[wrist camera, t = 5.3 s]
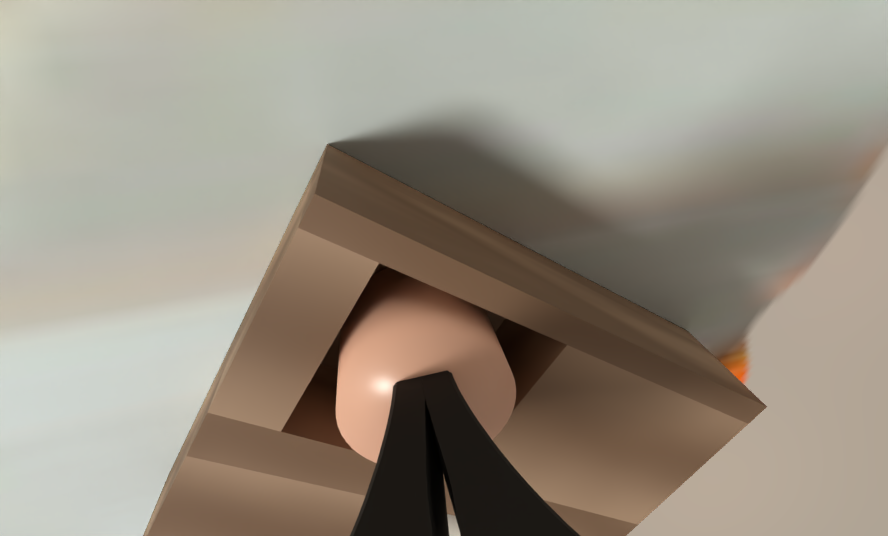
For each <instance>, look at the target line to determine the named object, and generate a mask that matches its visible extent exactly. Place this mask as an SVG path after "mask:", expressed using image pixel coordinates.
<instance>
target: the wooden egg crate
mask: <svg viewBox="0 0 888 536" xmlns="http://www.w3.org/2000/svg"><path fill="white" fill-rule="evenodd" d="M387 268H392V269H394V270H396V271H399V272H401V273H403V274H405V275H408V276H410V277H412V278H415V279H417V280H419V281H421V282H424V283H426V284H428V285H431V286H433V287H435V288H438V289H440V290H442V291H444V292H447V293H449V294H451V295H454V296H456V297H458V298H460V299H463V300H465V301H467V302H470V303H472V304H474V305H477V306H479V307H481V308H483V309H485V311H486V313H487V315H488V318H489V320H490V322H491V325H492V327H493V329H494V332H495V334H496V336H497V339H498V341H499V343H500V346H501V348H502V350H503V353H504V355H505V357H506V360H507V362H508V364H509V367H510V369H511V371H512V374H513V377H514V380H515V385H516V400H515V405H514V409H513V411H512V414H511V416H510V418H509V420H508V422H507V423H506V425H505V426H504V428H503V429H502V430H501V432H500V433H499V434H498V435H497V436H496V437H495V438H494V439H493V442H494V443H495V444H496V446H497V447H498V448H499V449H500V451H501V452H502V453H503V454H504V456H505V457H506V458H507V459H508V461H509V462H510V463H511V464H512V465H513V467H514V468H515V469H516V470H517V471H518V472H519V474H520V475H521V476H522V477H523V478H524V479H525V480H526V482H527V483H528V484H529V485H530V486H531V487H532V488H533V489H534V490H535V491H536V492H537V493H538V495H539V496H540V497H541V498H542V499H543V500H544V501H545V502H546V503H547V504H548V505H549V506H550V507H551V508H552V509H553V510H554V511H555V512H556V513H557V514H558V515H559V516H560V517H561V518H562V519H563V520H564V521H565V522H566V523H567V524H568V525H569V526H570V527H572V528H573V529H574V530H575V531H576V532H577V533H578V534H579V535H580V536H626V535H627V534H628V533H629V532H630V531H632V530H633V529H634V528H635V527H636V526H637V525H638V524H639V523H640V522H641V521H642V520H644V519H645V518H646V517H647V516H648V515H649V514H650V513H651V512H652V511H653V510H655V509H656V508H657V507H658V506H659V505H660V504H661V503H662V502H663V501H664V500H665V499H667V498H668V497H669V496H670V495H671V494H672V493H673V492H674V491H675V490H676V489H677V488H679V487H680V486H681V485H682V484H683V483H684V482H685V481H686V480H687V479H688V478H690V477H691V476H692V475H693V474H694V473H695V472H696V471H697V470H698V469H699V468H700V467H702V466H703V465H704V464H705V463H706V462H707V461H708V460H709V459H710V458H711V457H712V456H714V454H716V453H717V452H718V451H719V450H720V449H721V448H722V447H723V446H725V444H727V443H728V442H729V441H730V440H731V439H732V438H733V437H734V436H735V435H736V434H738V433H739V432H740V431H741V430H742V429H743V428H744V427H745V426H746V425H747V424H749V423H750V422H751V421H752V420H753V419H754V418H755V417H756V416H757V415H758V414H759V413H761V412H762V411H763V410H764V409H765V408H766V407H767V406H766V405H765V404H764V403H762V402H761V401H760V400H759V399H758V398H757V397H756V396H755V395H754V394H753V393H752V392H751V391H750V390H748V388H747V387H746V386H745V385H744V384H743V383H742V382H741V381H739V380H738V379H737V378H736V377H735V376H734V375H733V374H732V373H731V372H730V371H729V370H728V369H727V368H726V367H725V366H724V365H723V364H722V363H721V362H720V361H719V360H717V359H716V358H715V357H714V356H713V355H712V354H711V353H710V352H709V351H708V350H707V349H706V348H705V347H704V346H703V345H702V344H701V343H700V342H699V341H698V340H697V339H695V338H694V337H693V336H692V335H691V334H690V333H689V332H688V331H687V330H685V329H683V328H681V327H679V326H677V325H675V324H673V323H671V322H669V321H667V320H665V319H663V318H662V317H660V316H658V315H656V314H654V313H652V312H650V311H648V310H646V309H644V308H642V307H640V306H638V305H636V304H635V303H633V302H631V301H629V300H627V299H625V298H623V297H621V296H619V295H617V294H615V293H613V292H611V291H609V290H608V289H606V288H604V287H602V286H600V285H598V284H596V283H594V282H592V281H590V280H588V279H586V278H584V277H583V276H581V275H579V274H577V273H575V272H573V271H571V270H569V269H567V268H565V267H563V266H561V265H559V264H557V263H556V262H554V261H552V260H550V259H548V258H546V257H544V256H542V255H540V254H538V253H536V252H534V251H532V250H530V249H529V248H527V247H525V246H523V245H521V244H519V243H517V242H515V241H513V240H511V239H509V238H507V237H505V236H504V235H502V234H500V233H498V232H496V231H494V230H492V229H490V228H488V227H486V226H484V225H482V224H480V223H478V222H477V221H475V220H473V219H471V218H469V217H467V216H465V215H463V214H461V213H459V212H457V211H455V210H453V209H451V208H450V207H448V206H446V205H444V204H442V203H440V202H438V201H436V200H434V199H432V198H430V197H428V196H426V195H424V194H423V193H421V192H419V191H417V190H415V189H413V188H411V187H409V186H407V185H405V184H403V183H401V182H399V181H398V180H396V179H394V178H392V177H390V176H388V175H386V174H384V173H382V172H380V171H378V170H376V169H374V168H372V167H371V166H369V165H367V164H365V163H363V162H361V161H359V160H357V159H355V158H353V157H351V156H349V155H347V154H345V153H344V152H342V151H340V150H338V149H336V148H334V147H332V146H330V145H328V144H327V146H326V148H325V150H324V152H323V154H322V156H321V158H320V160H319V162H318V165H317V167H316V169H315V171H314V173H313V175H312V177H311V179H310V181H309V183H308V185H307V187H306V190H305V192H304V194H303V196H302V198H301V200H300V202H299V204H298V206H297V208H296V210H295V212H294V215H293V217H292V219H291V221H290V223H289V225H288V227H287V229H286V231H285V233H284V235H283V237H282V240H281V242H280V244H279V246H278V248H277V250H276V252H275V254H274V256H273V258H272V260H271V263H270V265H269V267H268V269H267V271H266V273H265V275H264V277H263V279H262V281H261V283H260V285H259V288H258V290H257V292H256V294H255V296H254V298H253V300H252V302H251V304H250V306H249V308H248V310H247V313H246V315H245V317H244V319H243V321H242V323H241V325H240V327H239V329H238V331H237V333H236V335H235V338H234V340H233V342H232V344H231V346H230V348H229V350H228V352H227V354H226V356H225V358H224V360H223V363H222V365H221V367H220V369H219V371H218V373H217V375H216V377H215V379H214V381H213V383H212V385H211V388H210V390H209V392H208V394H207V396H206V398H205V400H204V402H203V404H202V406H201V408H200V411H199V413H198V415H197V417H196V419H195V421H194V423H193V425H192V427H191V429H190V431H189V433H188V436H187V438H186V440H185V442H184V444H183V446H182V448H181V450H180V452H179V454H178V456H177V458H176V461H175V463H174V465H173V467H172V469H171V471H170V473H169V475H168V478H167V480H166V482H165V485H164V487H163V490H162V492H161V494H160V497H159V499H158V502H157V504H156V506H155V509H154V511H153V513H152V516H151V518H150V521H149V523H148V525H147V528H146V530H145V533H144V535H143V536H350V534H351V532H352V530H353V527H354V525H355V522H356V520H357V517H358V515H359V512H360V510H361V507H362V504H363V502H364V499H365V496H366V493H367V490H368V487H369V484H370V481H371V478H372V475H373V472H374V469H375V466H376V463H375V462H373V461H370V460H368V459H366V458H365V457H363V456H361V455H360V454H358V453H357V452H356V451H355V450H353V449H352V448H351V447H350V446H349V444H348V443H347V442H346V441H345V439H344V438H343V436H342V435H341V433H340V430H339V428H338V425H337V420H336V394H337V378H338V362H339V345H340V329H341V328H342V326H343V324H344V322H345V321H346V319H347V317H348V316H349V314H350V312H351V310H352V309H353V307H354V305H355V304H356V302H357V300H358V298H359V297H360V295H361V293H362V292H363V290H364V288H365V286H366V285H367V283H368V281H369V280H370V278H371V276H373V275H374V274H376V273H378V272H380V271H382V270H384V269H387ZM443 476H444V474H443ZM444 486H445V496H446V507H447V514H449V515H454V516H455V513H454V510H453V506H452V503H451V499H450V496H449V492H448V488H447V485H446V481H445V478H444Z"/></svg>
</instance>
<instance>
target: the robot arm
mask: <svg viewBox="0 0 888 536" xmlns="http://www.w3.org/2000/svg"><path fill="white" fill-rule="evenodd" d="M443 474H444V476H443ZM444 478H445V481H446V485H447V488H448V492H449V496H450V499H451V503H452V506H453V510H454V513H455V517H456V520H457V524H458V527H459V531H460V535H461V536H580V535H579V534H578V533H577V532H576V531H575V530H574V529H573V528H572V527H570V526H569V525H568V524H567V523H566V522H565V521H564V520H563V519H562V518H561V517H560V516H559V515H558V514H557V513H556V512H555V511H554V510H553V509H552V508H551V507H550V506H549V505H548V504H547V503H546V502H545V501H544V500H543V499H542V498H541V497H540V496H539V495H538V493H537V492H536V491H535V490H534V489H533V488H532V487H531V486H530V485H529V484H528V483H527V482H526V480H525V479H524V478H523V477H522V476H521V475H520V474H519V472H518V471H517V470H516V469H515V468H514V467H513V465H512V464H511V463H510V462H509V461H508V459H507V458H506V457H505V456H504V454H503V453H502V452H501V451H500V449H499V448H498V447H497V446H496V444H495V443H494V442H493V440H492V439H491V438H490V436H489V435H488V433H487V432H486V431H485V429H484V428H483V426H482V425H481V424H480V422H479V421H478V420H477V418H476V416H475V415H474V413H473V412H472V410H471V409H470V407H469V406H468V404H467V402H466V401H465V399H464V397H463V395H462V394H461V392H460V390H459V388H458V386H457V384H456V382H455V380H454V377H453V374H452V373H451V372H449V371H447V370H446V371H442V372H438V373H433V374H429V375H425V376H421V377H416V378H412V379H408V380H403V381H399V382H396V383H395V385H394V386H393V392H392V400H391V406H390V412H389V417H388V421H387V426H386V430H385V434H384V438H383V441H382V445H381V449H380V452H379V456H378V460H377V463H376V466H375V469H374V472H373V475H372V478H371V481H370V484H369V487H368V490H367V493H366V496H365V499H364V502H363V504H362V507H361V510H360V512H359V515H358V517H357V520H356V522H355V525H354V527H353V530H352V532H351V534H350V536H449V528H448V517H447V507H446V496H445V486H444Z"/></svg>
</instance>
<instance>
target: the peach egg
mask: <svg viewBox="0 0 888 536" xmlns="http://www.w3.org/2000/svg"><path fill="white" fill-rule="evenodd" d="M446 370H447V371H449V372H451V373H452V374H453V377H454V380H455V382H456V384H457V386H458V388H459V390H460V392H461V394H462V395H463V397H464V399H465V401H466V402H467V404H468V406H469V407H470V409H471V410H472V412H473V413H474V415H475V416H476V418H477V420H478V421H479V422H480V424H481V425H482V426H483V428H484V429H485V431H486V432H487V433H488V435H489V436H490V438H491V439H492V440H493V439H494V438H495V437H496V436H497V435H498V434H499V433H500V432H501V430H502V429H503V428H504V426H505V425H506V423H507V422H508V420H509V418H510V416H511V414H512V411H513V409H514V405H515V400H516V385H515V380H514V377H513V374H512V371H511V369H510V367H509V364H508V362H507V360H506V357H505V355H504V353H503V350H502V348H501V346H500V343H499V341H498V339H497V336H496V334H495V332H494V329H493V327H492V325H491V322H490V320H489V318H488V315H487V313H486V311H485V309H483V308H481V307H479V306H477V305H474V304H472V303H470V302H467V301H465V300H463V299H460V298H458V297H456V296H454V295H451V294H449V293H447V292H444V291H442V290H440V289H438V288H435V287H433V286H431V285H428V284H426V283H424V282H421V281H419V280H417V279H415V278H412V277H410V276H408V275H405V274H403V273H401V272H399V271H396V270H394V269H392V268H387V269H384V270H382V271H380V272H378V273H376V274H374V275H373V276H371V278H370V280H369V281H368V283H367V285H366V286H365V288H364V290H363V292H362V293H361V295H360V297H359V298H358V300H357V302H356V304H355V305H354V307H353V309H352V310H351V312H350V314H349V316H348V317H347V319H346V321H345V322H344V324H343V326H342V328H341V329H340V345H339V362H338V378H337V394H336V420H337V425H338V428H339V430H340V433H341V435H342V436H343V438H344V439H345V441H346V442H347V443H348V444H349V446H350V447H351V448H352V449H353V450H355V451H356V452H357V453H358V454H360V455H361V456H363V457H365V458H366V459H368V460H370V461H373V462H375V463H377V460H378V456H379V452H380V449H381V445H382V441H383V438H384V434H385V430H386V426H387V421H388V417H389V412H390V406H391V400H392V392H393V386H394V385H395V383H396V382H399V381H403V380H408V379H412V378H416V377H421V376H425V375H429V374H433V373H438V372H442V371H446Z"/></svg>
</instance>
